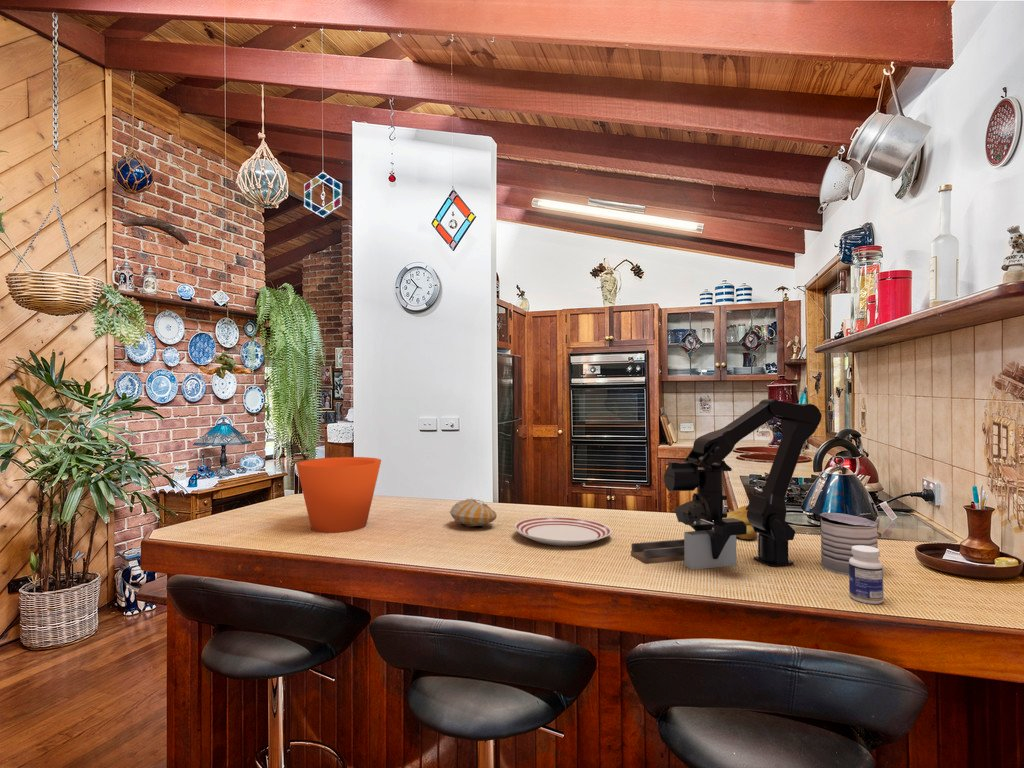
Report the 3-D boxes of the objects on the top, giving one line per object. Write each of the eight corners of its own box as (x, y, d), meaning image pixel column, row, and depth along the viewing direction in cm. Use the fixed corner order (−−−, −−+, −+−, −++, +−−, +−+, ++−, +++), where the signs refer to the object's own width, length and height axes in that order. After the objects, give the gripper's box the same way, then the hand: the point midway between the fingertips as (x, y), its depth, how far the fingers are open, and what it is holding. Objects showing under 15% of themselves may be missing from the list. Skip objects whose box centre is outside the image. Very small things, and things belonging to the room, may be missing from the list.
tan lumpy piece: (763, 542, 150) (763, 513, 150) (725, 541, 152) (725, 511, 152) (753, 531, 163) (752, 504, 163) (718, 529, 165) (717, 502, 165)
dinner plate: (608, 527, 168) (608, 516, 168) (616, 553, 141) (616, 539, 141) (518, 525, 171) (518, 514, 171) (509, 550, 144) (509, 537, 144)
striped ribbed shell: (461, 517, 184) (505, 521, 182) (441, 528, 163) (490, 533, 161) (462, 493, 185) (506, 497, 182) (443, 501, 164) (492, 505, 161)
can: (825, 558, 135) (825, 509, 136) (881, 567, 128) (880, 515, 128) (816, 570, 126) (815, 517, 127) (875, 580, 119) (874, 524, 120)
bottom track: (693, 549, 143) (693, 538, 143) (711, 557, 136) (710, 545, 136) (631, 555, 138) (630, 543, 138) (645, 563, 131) (645, 550, 131)
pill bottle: (851, 591, 112) (851, 542, 113) (885, 598, 109) (884, 547, 109) (847, 600, 108) (846, 548, 108) (882, 607, 104) (881, 554, 105)
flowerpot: (298, 520, 177) (298, 458, 178) (378, 515, 185) (378, 455, 185) (292, 539, 154) (292, 468, 154) (384, 532, 161) (384, 464, 161)
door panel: (728, 561, 133) (727, 528, 133) (736, 565, 130) (736, 531, 130) (684, 566, 130) (684, 531, 130) (692, 570, 127) (691, 535, 127)
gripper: (658, 485, 137) (659, 548, 137) (704, 499, 119) (704, 572, 119) (697, 483, 140) (698, 545, 140) (748, 496, 122) (748, 567, 122)
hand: (710, 556), depth 130 cm, fingers open, 3 cm apart
